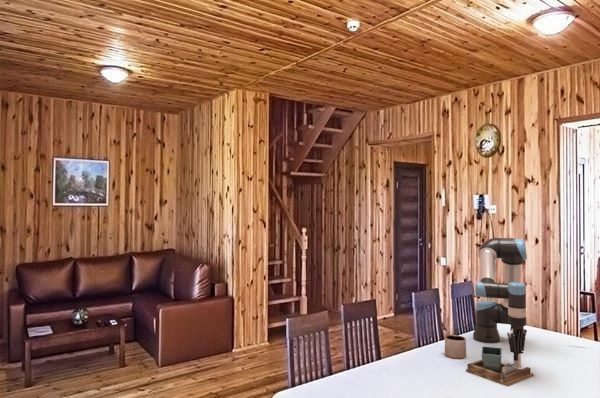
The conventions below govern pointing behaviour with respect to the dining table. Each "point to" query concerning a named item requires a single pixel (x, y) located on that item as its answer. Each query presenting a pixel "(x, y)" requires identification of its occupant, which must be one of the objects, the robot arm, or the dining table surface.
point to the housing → (499, 373)
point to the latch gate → (508, 369)
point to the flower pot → (491, 358)
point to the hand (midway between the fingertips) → (517, 367)
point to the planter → (455, 346)
